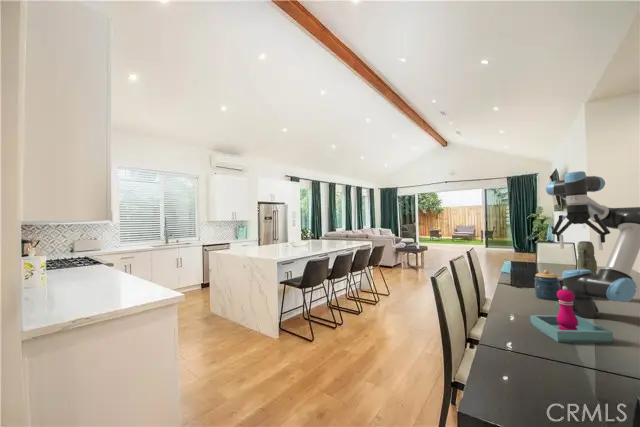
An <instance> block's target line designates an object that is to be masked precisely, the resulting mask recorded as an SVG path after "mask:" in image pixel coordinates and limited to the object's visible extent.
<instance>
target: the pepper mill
mask: <svg viewBox="0 0 640 427" xmlns="http://www.w3.org/2000/svg"><path fill="white" fill-rule="evenodd" d="M561 287H562V289H560V290H559V291H558V292H557V297H558V298H559V299H560V300H558V303H559V304H560V306H559V311H558V314H557V315H558V316H557V322H558V323H559V324H560V325H559V330H577V328H576V326H577V325H578V320H577V318H576V316H575V314H574V312H573V309H572V305H573V301H572V300H573V299H574V294H573V293H572V292H571V291H569V290H567V289H568V288H567V287H566V286H563V285H562V286H561Z"/></svg>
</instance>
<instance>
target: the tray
mask: <svg viewBox="0 0 640 427" xmlns="http://www.w3.org/2000/svg"><path fill="white" fill-rule="evenodd" d="M557 316H558V314H555V315H554V314H553V315H549V314H547V315H546V314H545V315H543V314H534V315H532V314H530V316H529V317H530V318H529V319H530V325H532V326H533V327H534V328H535V329H537V330H539V331H540V332H542V333H543V334H545V335H546V336H547V337H549V338H551V339H552V340H554V341H556V342H557V343H578V344H579V343H580V344H583V343H584V344H585V343H586V344H588V343H589V344H614V336H613V332H612V331H611V330H609V329H606V328H604V327H602V326H600V325H597V324H596V323H593V322H591V321H589V320H586V319H585V318H583V317H579V316H576V318H577V320H578V325H577V326H576V328H577V330H559V325H560V324H559V323H558V322H557Z"/></svg>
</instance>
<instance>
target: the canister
mask: <svg viewBox="0 0 640 427" xmlns="http://www.w3.org/2000/svg"><path fill="white" fill-rule="evenodd" d="M558 277H559V276H558V275H557V274H555V273H553V272H549V270H548V269H544V270H543V272H537V273H535V277H534V278H533V279H534V295H535V298H538V299H541V298H542V300H546V299H547V300H546V301H559V298H558V297H557V292H558V291H559V290H561V284H560V281H561V279H560V278H558Z"/></svg>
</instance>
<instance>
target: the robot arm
mask: <svg viewBox="0 0 640 427" xmlns="http://www.w3.org/2000/svg"><path fill="white" fill-rule="evenodd" d="M605 185H606V182H605V179H604V178H603V177H601V176H595V175H591V176H590V175H589V176H588V175H587V174H586V172H585V171H581V170H580V171H571V172H567V173H565V175H564V179H560V180H554V181H550V182H548V183H547V184H546V186H545V191H546V194H548V196H553V197H554V196H559V197H560V198H562V199H563V200H564V201H565V202H566V213H567V214H566V215H563V214H560V215H559V216H558V220H557V222H556V224H555V226H554V228H553V230H552V231H551V234H552V235H555V236H556V242H559V247H560V249H565V244H564V242H565V241H564V235H563V233H564V232H565V231H566V230H567V229H568V228H569V227H570V226H571V225H583V224H586V225H587V226H588V227H590V228H591V229H592V230H593V231H594V232H596V233H598V235H597V243H598V251H603V244H604V243H606V235H610V234H611V231H610V230H609V229H614V230H615V229H616V230H618V231H619V234H618V236H617V238H616V241H615V243H614V245H613V249H612V250H611V253H610V254H609V255H610V256H609V257H608V260H607V261H606V262H607V263H606V265H605V267H603V268H600V269H599V270H598V273H596V274H592V272H591V270H584V269H579V270H578V269H565V270H563V271H562V274H561V276H562V278H561V279H562V287H563V286H566V287H567V288H568V289H567V290H569V291H571V292H572V293H573V294H574V299H573V300H572V301H573V305H572V309H573V312H574V314H575V316H579V317H581V318H583V319H585V318H586V319H596V318H599V317H600V311H599V308H598V307H597V306H598V305H596V303H595V300H593V297H597V298H599V299H603V300H608V301H612V302H619V303H626V302H630V301H631V300H632V299H634V297H635V295H636V294H637V284H636V282H635V280H634V279H633V277H632V275H631V272H632V270H633V267H634V265H635V262H636V259H637V257H638V254H639V252H640V206H632V207H630V206H629V207H608V206H607V205H604V204H600V203H598V202H597V201H596V200H594V199H593V198H592V197H590V196H588V193H589V192H591V193H595V192H599V191H601V190H603V189H604V188H605ZM566 219H567V220H568V221H567V222H566V223H565V224H564V225H563V226H562V227H561V225H562V223H563V221H564V220H566ZM590 220H591V221H592V222H594V223H596V224H597V225H598V226H600V228H599V227H597V226H596V225H595V224H593V223H592V222H591V221H590ZM560 227H561V228H560Z"/></svg>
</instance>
